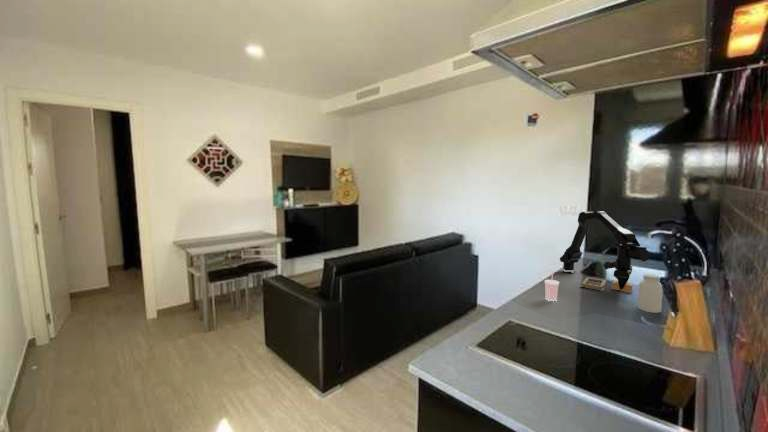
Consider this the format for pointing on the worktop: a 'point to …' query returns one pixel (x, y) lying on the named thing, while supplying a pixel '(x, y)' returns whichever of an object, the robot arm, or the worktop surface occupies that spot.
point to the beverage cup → (551, 289)
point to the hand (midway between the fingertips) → (622, 287)
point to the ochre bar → (626, 288)
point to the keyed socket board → (594, 285)
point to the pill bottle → (650, 294)
